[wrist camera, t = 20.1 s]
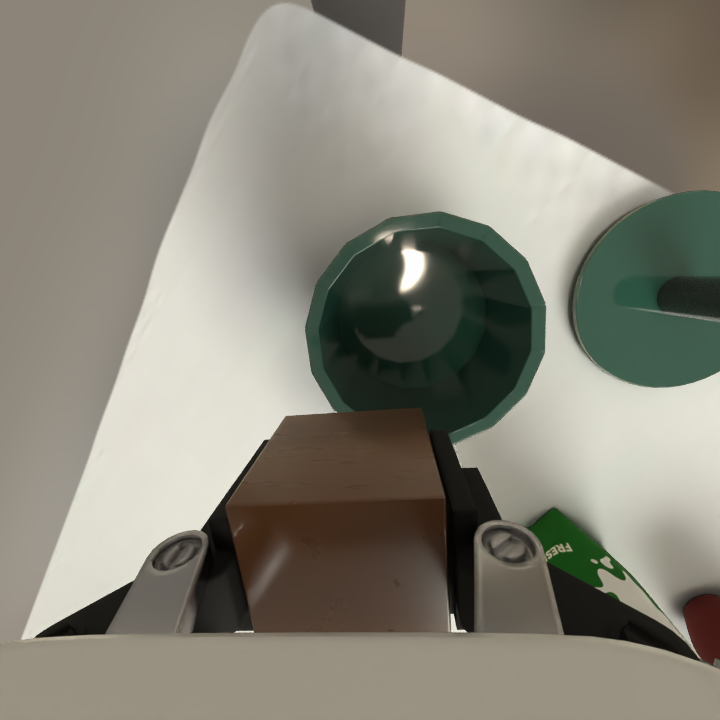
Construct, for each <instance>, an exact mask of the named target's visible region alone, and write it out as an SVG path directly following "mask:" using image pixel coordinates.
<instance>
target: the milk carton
mask: <svg viewBox="0 0 720 720" xmlns="http://www.w3.org/2000/svg"><path fill="white" fill-rule="evenodd" d="M528 530H530V531H531V532H533V533H534V534H535V536H536V537H537V538H538V539H539V540H540V542H541V545H542V547H543V550H544V554H545V558H546V562H548V563H550V564H552V565H554V566H556V567H558V568H560V569H561V570H563V571H565V572H567V573H569V574H571V575H573V576H574V577H576V578H578V579H580V580H582V581H584V582H586V583H588V584H589V585H591V586H593V587H595V588H597V589H599V590H601V591H602V592H604V593H606V594H608V595H610V596H612V597H614V598H616V599H617V600H619V601H621V602H623V603H625V604H627V605H629V606H630V607H632V608H634V609H636V610H638V611H640V612H642V613H644V614H645V615H647V616H649V617H651V618H653V619H655V620H657V621H658V622H660V623H661V624H663V625H665V626H666V627H668V628H669V629H671V630H672V631H674V632H675V633H676V634H677V635H678V636H679V637H680V638H682V639H683V640H684V641H685V642H686V643H687V644H688V645H689V647H690V648H691V649H692V650H693V651H694V649H693V648H692V647H691V646H690V644H689V643H688V642H687V641H686V640H685V638H684V637H683V636H682V635H681V633H680V632H679V631H678V630H677V629H676V627H675V626H674V625H673V624H672V622H671V621H670V620H669V619H668V618H667V616H666V615H665V614H664V613H663V612H662V610H661V609H660V608H659V607H658V605H657V604H656V603H655V602H654V601H653V599H652V598H651V597H650V596H649V594H648V593H647V592H646V591H645V590H644V589H643V587H642V586H641V585H640V584H639V583H638V582H637V580H636V579H635V578H634V577H633V576H632V575H631V574H630V573H629V572H628V571H627V570H626V569H625V568H624V567H623V566H622V565H621V564H620V563H619V562H617V561H616V560H615V559H614V558H613V557H612V556H611V555H610V554H609V553H608V552H607V551H606V550H605V549H603V548H602V547H601V546H600V545H599V544H597V543H596V542H595V541H594V540H593V539H592V538H590V537H589V536H588V535H587V534H586V533H584V532H583V531H582V530H581V529H580V528H578V527H577V526H576V525H575V524H574V523H572V522H571V521H570V520H569V519H568V518H567V517H565V516H564V515H563V514H562V513H561V512H559V511H558V510H557V509H556V508H555V507H554V508H553V509H552V510H550V511H549V512H548V513H547V514H545V515H544V516H543V517H542V518H540V519H539V520H538V521H537V522H536V523H534V524H533V525H532V526H531V527H529V528H528ZM694 653H695V654H696V655H697V656H698V658H700V657H699V655H698V654H697V653H696V652H695V651H694ZM700 659H701V658H700Z"/></svg>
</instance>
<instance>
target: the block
mask: <svg viewBox="0 0 720 720" xmlns="http://www.w3.org/2000/svg"><path fill="white" fill-rule="evenodd" d="M226 512H227V516H228V521H229V525H230V529H231V534H232V538H233V543H234V547H235V551H236V556H237V560H238V564H239V569H240V573H241V577H242V582H243V586H244V590H245V595H246V599H247V603H248V608H249V612H250V616H251V621H252V625H253V629H254V633H289V632H448V633H451V618H450V594H449V570H448V546H447V522H446V498H445V494H444V490H443V486H442V483H441V479H440V475H439V472H438V468H437V464H436V460H435V457H434V453H433V449H432V445H431V442H430V438H429V434H428V431H427V427H426V423H425V419H424V416H423V412H422V409H421V408H404V409H389V410H373V411H358V412H342V413H327V414H311V415H296V416H286V417H285V418H284V419H283V421H282V422H281V424H280V425H279V427H278V428H277V430H276V431H275V433H274V434H273V436H272V437H271V439H270V440H269V442H268V443H267V445H266V446H265V448H264V449H263V450H262V452H261V453H260V455H259V456H258V458H257V459H256V461H255V462H254V464H253V465H252V467H251V468H250V470H249V471H248V473H247V474H246V476H245V477H244V479H243V480H242V482H241V483H240V485H239V486H238V488H237V489H236V491H235V492H234V493H233V495H232V496H231V498H230V499H229V501H228V502H227V504H226Z"/></svg>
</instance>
